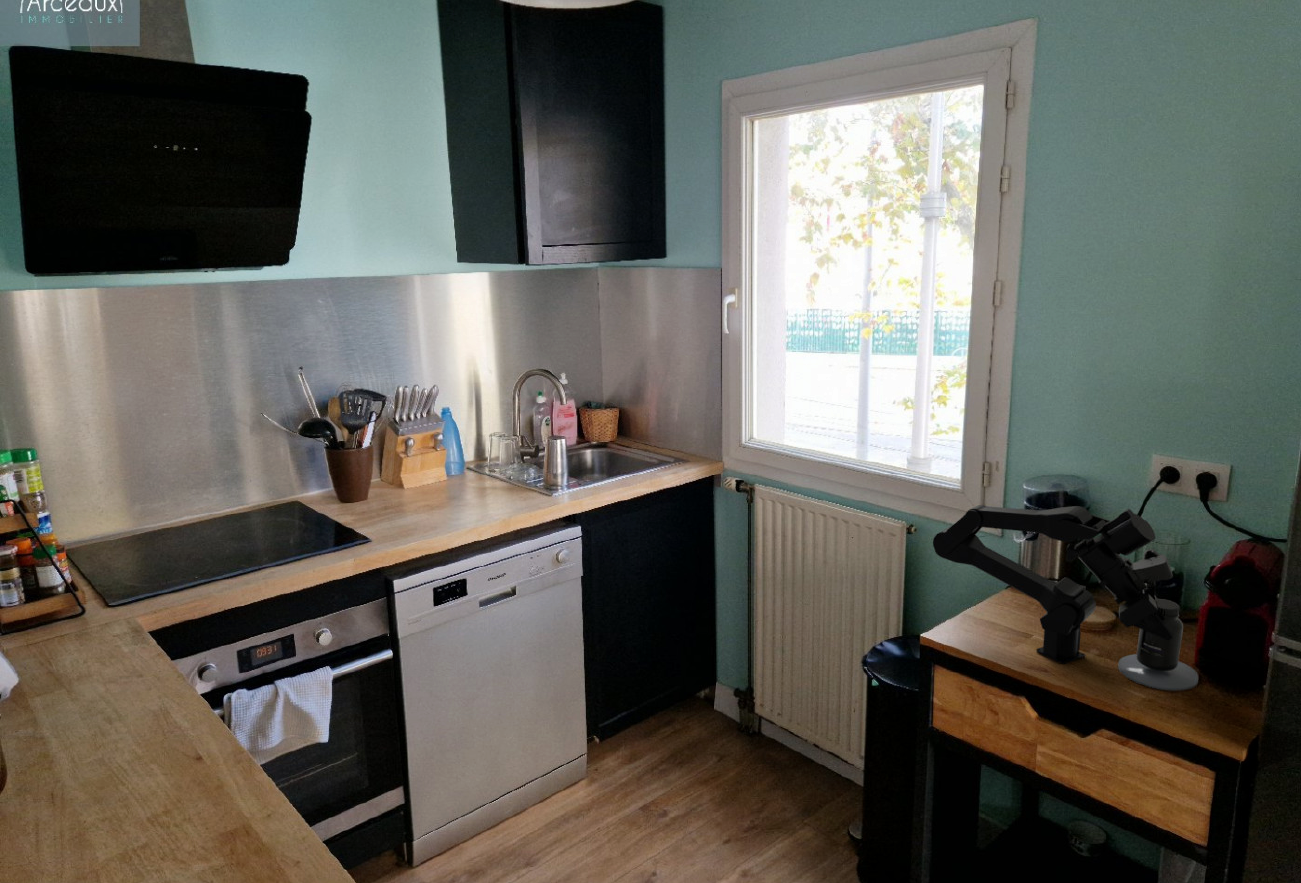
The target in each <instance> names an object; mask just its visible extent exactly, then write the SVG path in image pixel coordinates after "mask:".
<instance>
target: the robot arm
mask: <svg viewBox="0 0 1301 883" xmlns="http://www.w3.org/2000/svg"><path fill="white" fill-rule="evenodd" d="M982 528H985V529H986V528H987V529H997V530H998V529H999V530H1006V531H1007V530H1009V531H1019V532H1030V533H1037V534H1040V535H1043V536H1045V537H1047V538H1048V539H1051V540H1056V541H1059V542H1064V543H1067V544H1068V545H1067V547H1066V560H1065V561H1066V562H1067V563H1070V562H1073V561H1074V560H1076V559H1077V558H1078V559H1079V560H1080V561H1081V563H1083V564H1084V565H1085V567H1087V569H1088V570H1089V571H1090V572H1091V573H1092V574H1093V575H1094V576H1095V577H1096V578H1097V579H1098V584H1099V585H1100V586H1101V587H1102V588H1104V587H1105V588H1106V589H1107V590H1108V591H1109V592H1110V594H1112V595H1113V596H1114V601H1115V602H1116V603H1117V604H1118V605H1119V609H1118V620H1119V621H1120V622H1121V623H1122V625H1123V626H1124V627H1125V628H1127V629H1128V628H1130V627H1135V628H1138V629H1139V630H1140V629H1143V630H1145V631H1147V632H1150V633H1152V634H1154V635H1156V636H1159V637H1161V638H1163V639H1165V640H1170V639H1172V638H1173V636H1172V635H1171V633H1170V632H1169V630H1168V629H1167V627H1166V626H1165V624H1164V623H1163V621H1162V620H1161V618H1160V617H1159V615H1158V614H1157V611H1158V602H1155V601H1154V599H1158V598H1157V596H1156V582H1159V581H1168V580H1171V579H1172V578H1173V577H1174V576H1173V575H1174V574H1173V570H1172V567H1171V565H1170V563H1169V561H1168V558H1167V557H1166V555H1165V554H1164V553H1158V552H1157V551H1156V550H1155V549H1154V548H1150V549H1146V550H1144V552H1143V559H1142V558H1141V559H1139V560H1137V561H1136V562H1132V561H1131V560H1130V559H1129V558H1128V557H1127V558H1126V557H1122V556H1121V555H1123V556H1129V555H1131V554H1133V553H1134V552H1136V551H1137V550H1140V549H1141V548H1143V547H1144V546H1147V545H1149V544H1150V543H1151V542H1153V541H1155V540H1156V534H1155V531H1154V529H1153V527H1152V526H1151V524H1150V523H1149V522H1148V521H1147V519H1143V518H1142V516H1140V515H1138V514H1137V513H1134V512H1133V511H1132V510H1131V509H1130V508H1128V509H1126V510H1124V511H1123V512H1122V513H1120V514H1119V515H1118V516H1117V517H1115V518H1114V519H1112V520H1108V519H1106V518H1104V517H1101V516H1098V515H1094V514H1091V512H1089V510H1088V509H1087V508H1085V507H1082V506H1080V505H1077V506H1076V505H1075V506H1065V507H1062V506H1061V507H1056V508H1051V509H1045V510H1039V509H1027V508H1025V509H1024V508H1013V507H1012V508H1011V507H1001V506H988V505H984V504H978V505H976V506H973V507H972V508H970V509H968V510H967V511H966V512H965V514H964V515H963V516H962V517H961V518H960V519H958V520H957V521H956V522H955V523H954V524H953V525H952V526H951V525H950V526H949V527H947V528H945V529H943V530H942V531H940V532H937V533H936V534H935V536H933V540H932V547H933V550H934V552H935V554H936V556H938V557H940V558H942V559H944V560H947V561H950V562H952V563H956V564H960V565H961V564H962V565H969V566H972V567H974V568H976V569H977V570H978V569H979V571H982V572H984V573H986V574H988V575H990V576H992V578H995V579H996V580H998V581H1000V582H1002V583H1004V584H1006V585H1007V586H1010V587H1011V588H1013V589H1015V590H1016V591H1019V592H1020V593H1022V594H1024V595H1026V596H1028V597H1030V598H1032V599H1033V600H1035V601H1037V602H1038V603H1039V604H1040V606H1041V607H1042V608H1043V609H1044V611H1045V612H1046V613H1045V614H1044V615H1043V616H1042V617H1040V619H1039V622H1040V625H1041V628H1042V629H1043V630H1044V631H1043V641H1042V642H1043V646H1042V647H1039V648H1036V651H1035V652H1037V653H1039V654H1040V655H1042V656H1045V657H1047V658H1049V659H1051V660H1053V661H1055V662H1058V663H1059V664H1062V665H1065V664H1068V663H1071V662H1075V661H1078V660H1081V659H1083V658H1085V657H1086V654H1085V653H1083V652H1081V651H1080V646H1081V635H1082V634H1081V632H1082V631H1081V624H1082V623H1084V622H1086V620H1087V619H1088V618H1090V616H1091V615H1092V614H1094V612H1095V611H1096V606H1097V604H1096V600H1095V598H1094V595H1093V593H1091V592H1090V591H1089V590H1086V588H1087V586H1086V585H1081V584H1078V583H1076V582H1075V581H1073V580H1072V579H1071V578H1069V577H1064V578H1062V579H1061V580H1060V581H1054V580H1049V578H1046V577H1044V576H1042V575H1040V574H1038V573H1037V572H1035V571H1033V570H1030V569H1029V568H1027V567H1025V566H1023V565H1022V564H1019V563H1017V562H1015V561H1014V560H1012V559H1010V558H1008V557H1006V556H1005V555H1002V554H1000V553H998V552H997V551H995V550H993V549H991V548H989V547H987V546H986V545H985V544H984V543H983V542H982V540H981V539H980V537H978V535H977V534H978V533H979V532H980V531H981V529H982ZM1099 534H1100V535H1099ZM1098 535H1099V536H1098ZM1079 540H1082V541H1080V542H1079V543H1076V542H1077V541H1079ZM1075 543H1076V544H1075ZM1124 601H1125V602H1124ZM1120 604H1121V605H1120Z"/></svg>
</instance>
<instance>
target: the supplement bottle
mask: <svg viewBox="0 0 1301 883" xmlns="http://www.w3.org/2000/svg"><path fill="white" fill-rule="evenodd" d="M1154 601H1155V602H1158V611H1157V614H1158V615H1159V617H1160V618H1161V620H1162V621H1163V623H1164V624H1165V626H1166V627H1167V629H1168V630H1169V632H1170V633H1171V635H1172V636H1173V638H1172V639H1170V640H1165V639H1163V638H1161V637H1159V636H1156V635H1154V634H1152V633H1150V632H1147V631H1145V630H1143V629H1140V628H1139V633H1138V641H1137V647H1136V654H1137V660H1138V661H1139V662H1140V663H1141V664H1142V665H1144V666H1146V667H1148V668H1151V669H1154V670H1159V671H1170V670H1173V669H1175V668H1176V667H1177V665H1178V661H1180V660H1179V659H1180V651H1181V646H1182V638H1183V632H1184V631H1183V630H1184V623H1183V622H1182V620H1181V619H1180V618H1179V617H1180V604H1177V603H1176V602H1175V601H1173V600H1169V599H1164V598H1157V599H1154Z"/></svg>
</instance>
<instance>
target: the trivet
mask: <svg viewBox="0 0 1301 883" xmlns="http://www.w3.org/2000/svg"><path fill="white" fill-rule="evenodd" d="M1117 668H1118V671H1119V673H1120V672H1121V673H1122V674H1123V675H1124V677H1125V676H1126V677H1127V678H1126V677H1125V678H1126V679H1128V678H1129V679H1130V680H1129V679H1128V680H1129V681H1131V680H1132V682H1133V681H1134V683H1136V684H1139V685H1141V684H1143V685H1145V686H1144V687H1147V686H1148V687H1147V688H1151V687H1152V688H1151V689H1155V688H1156V690H1162V691H1171V692H1172V691H1173V692H1175V691H1176V692H1177V691H1186V690H1187V691H1188V690H1190V689H1194V688H1195V687H1196V686H1198V683H1199V673H1198V672H1197V671H1196V670H1195V669H1194V668H1192V667H1191V666H1189V665H1188V664H1186V663H1184V662H1182V661H1180V660H1178V665H1177V667H1176V668H1175V669H1173V670H1170V671H1159V670H1154V669H1151V668H1148V667H1146V666H1144V665H1142V664H1141V663H1140V662H1139V661H1138V660H1137V653H1136V654H1129V655H1126V656H1123V657H1121V658H1120V659H1119V660H1118V667H1117ZM1121 673H1120V674H1121ZM1122 674H1121V675H1122ZM1123 675H1122V676H1123ZM1143 685H1142V686H1143Z"/></svg>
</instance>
